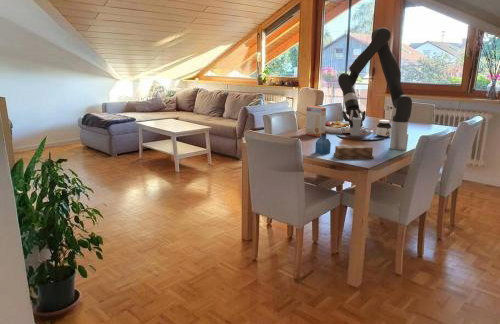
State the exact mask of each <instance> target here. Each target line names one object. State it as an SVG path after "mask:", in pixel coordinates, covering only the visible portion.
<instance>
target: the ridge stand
mask: <svg viewBox="0 0 500 324" xmlns="http://www.w3.org/2000/svg"><path fill="white" fill-rule="evenodd" d="M373 150H374V147H372V146H371V145H335V149H334V153H333V156H334V157H335V158H336V159H337V160H374V159H375V157H374V155H373Z"/></svg>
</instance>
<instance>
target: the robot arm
mask: <svg viewBox="0 0 500 324" xmlns="http://www.w3.org/2000/svg"><path fill="white" fill-rule="evenodd" d="M391 37H392V36H391V31H390V30H389V29H388V28H387V27H379V28H376V29H374V30H373V31H372V33H371V37H370V38H371V41H370V43H369V44H368V45H367V46H366V48H365V49H364V50H363V51H362V52H361V53H359V55H358V56H357V57H356V58H355V59H354V61H353V62H352V63H351V64H350V66H349V67H348V70H349V71H350V74H349V73H347V72H342V73H341V74H340V75H339V76H338V77H337V78H338V79H337V81H338V84H339V88H340V90H341V91H342V96H343V97H342V98H343V104H344V106H345V107H344V108H345V110H342V111H341V116H342V118H343V120H344V122H349V125H350V127H351V128H352V127H353V122H352V118H360V119H361V128H362V127H363V125H364V124H363V123H364V121H365V119H366V113H367V112H366V110H363V111H362V110H361V109H360V105H359V101H358V97H357V93H356V90H355V88H354V86H355V84H356V82H357V80H358V78H359V76H360V74H361V72H362V71H363V70H364V68H365V67H366V66H367V65H368V63H369V62H370V61H371V60H372V58H374V56H375V55H376V54H377V55H378V58H379V59H378V60H379V63H380V66H381V69H382V70H381V71H382V73H383V76H384V79H385V81H386V85H387V87H388V90H389V92H390V97H391V103H392V106H393V107H394V109H395V114H394V115H393V116H392V123H391V127H392V130H391V135H390V143H389V148H390V149H392V150H398V151H404V150H408V149H407V148H408V141H409V140H408V139H409V134H408V127H409V122H410V121H409V119H410V118H411V114H412V108H413V100H412V98H411V97H410V96H409V95H405V93H404V91H403V88H402V73H401V69H400V66H399V63H398V60H397V59H396V56H395V55H394V54H393V52H392V51H391V48H390V45H389V41H390V39H391Z"/></svg>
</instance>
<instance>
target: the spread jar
mask: <svg viewBox="0 0 500 324" xmlns="http://www.w3.org/2000/svg"><path fill="white" fill-rule="evenodd" d="M390 122H391V121H390V120H388V119H379V123H378V124H377V125H376V127H375V135H376V136H377V137H378V136H379V137H378V138H389V137H391V131H392V124H390Z"/></svg>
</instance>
